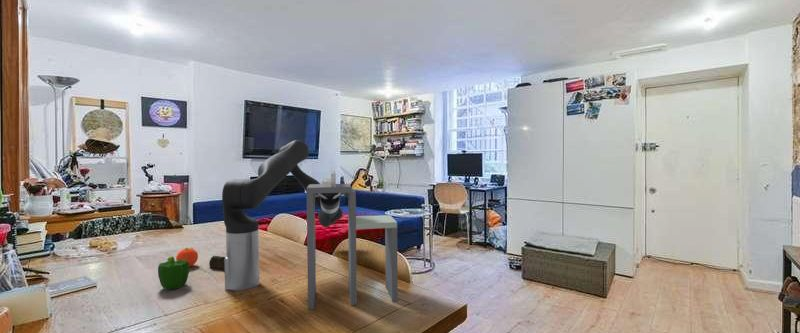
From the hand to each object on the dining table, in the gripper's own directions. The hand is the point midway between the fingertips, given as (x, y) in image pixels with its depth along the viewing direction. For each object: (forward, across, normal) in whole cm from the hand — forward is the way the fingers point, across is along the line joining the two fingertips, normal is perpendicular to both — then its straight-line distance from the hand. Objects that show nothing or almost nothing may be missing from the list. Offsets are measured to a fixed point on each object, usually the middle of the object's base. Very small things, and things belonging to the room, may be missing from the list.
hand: (329, 183), depth 124 cm
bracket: (+21, 0, +10) cm, 23 cm away
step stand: (+9, +6, +40) cm, 41 cm away
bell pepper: (-8, -48, +31) cm, 57 cm away
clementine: (-27, -52, +20) cm, 62 cm away
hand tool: (-20, -35, +24) cm, 47 cm away
